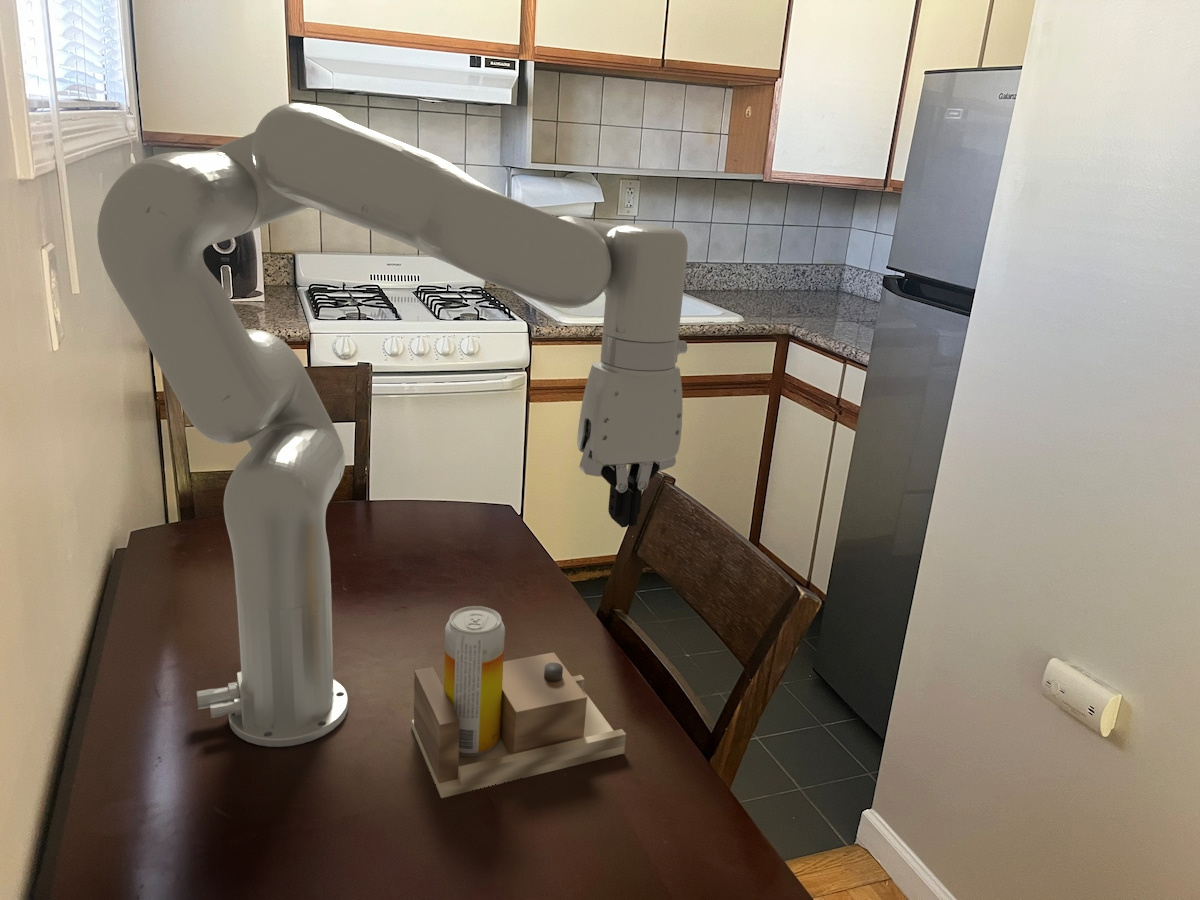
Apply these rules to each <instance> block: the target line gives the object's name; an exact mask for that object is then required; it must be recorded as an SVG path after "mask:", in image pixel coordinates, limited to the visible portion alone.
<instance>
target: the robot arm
mask: <svg viewBox="0 0 1200 900" xmlns="http://www.w3.org/2000/svg"><path fill="white" fill-rule="evenodd" d="M308 208H311V209H314V210H317V211H319V212H322V213H325V214H327V215H330V216H332V217H335V218H338V219H340V220H343V221H347V222H349V223H351V224H354V225H357V226H359V227H361V228H365V229H367V230H369V231H373V232H375V233H377V234H380V235H383V236H384V237H388V238H390V239H393V240H396V241H397V242H400V243H403V244H405V245H407V246H410V247H413V248H415V249H416V250H418V251H420V252H422V253H423V254H425V255H427V256H429V257H432V258H434V259H437V260H439V261H442V262H445V263H447V264H448V265H450V266H452V267H455V268H457V269H459V270H462V271H463V272H466V273H467V274H470V275H472V276H474V277H476V278H478V279H480V280H483V281H485V282H487V283H490V284H493V285H495V286H497V287H500V288H501V289H502V288H503V289H505V290H508V291H511V292H513V293H515V294H516V293H517V294H519V295H521V296H524V297H527V298H529V299H532V300H534V301H536V302H537V301H538V302H540V303H542V304H545V305H549V306H552V307H556V308H560V309H561V308H562V309H578V308H581V307H584V306H587V305H589V304H591V303H592V302H594V301H595V300H596V299H598V298H599V297H600V296H601V295H602V294H603V293H604V297H605V302H604V314H603V323H602V324H603V326H602V336H601V337H602V338H601V349H600V361H596V362H595V361H594V362H593V363H591V366H590V370H589V374H588V376H587V381H586V383H585V388H584V392H583V396H582V397H583V398H582V403H581V407H580V408H581V409H580V413H579V420H578V429H577V437H576V439H577V441H576V443H577V449H578V451H580V452H581V453H583V454H582V456H581V459H580V462H579V466H578V468H579V470H580V472H583V474H585V475H587V476H593V477H602V478H603V479H604V480H605V481H606V483H608V484H609V485H610V486H609V487H610V488H609V498H608V511H607V512H608V514H609V516H610V518H611V519H612V520H613V521H614V522H615V523H616V524H618V526H619V527H621V528H628V526H630V527H636V526H637V524H638V515H640V514H641V508H642V507H641V506H642V496H643V491H645V490H646V489H647V488H648V486H649V483H650V480H651V479H653V477H654V476H655V475H656V474H657V473H658V472H659V471H664V470H667V469H670V468H673V467H674V466H675V465H676V462H677V460H676V456H677V454H678V453H679V450H680V445H681V440H682V427H683V386H682V384H683V383H682V375H681V370H680V367H679V366H677V365H676V363H677V362H678V356H679V355H680V354H686V353H687V351H688V343H687V341H686V340H680V337H679V334H680V325H681V318H682V317H681V316H682V307H683V306H682V305H683V298H684V297H683V296H684V287H685V279H686V271H687V270H686V269H687V261H688V248H689V246H688V239H687V237H686V235H685V234H684V233H683V232H682V231H681V230H678V229H676V228H672V227H668V226H663V225H662V226H661V225H654V224H638V223H636V224H632V223H631V224H624V225H617V224H613V223H606V222H601V221H597V220H592V219H587V218H583V217H578V216H574V215H571V216H570V215H565V216H563V215H562V216H558V217H557V216H555V215H553V214H550V213H547V212H546V211H543V210H540V209H538V208H535V207H532V206H530V205H527V204H525V203H523V202H521V201H518V200H517V199H514V198H511V197H509V196H506V195H504V194H502V193H500V192H498V191H496V190H495V189H491V188H490V187H487V186H486V185H484V184H482V183H480V182H478V181H477V180H476V179H474V178H473V177H471V176H470V175H468V174H467V173H465V172H464V171H463V170H462V169H460V168H459V167H458V166H456V165H455V164H453V163H452V162H450V161H448V160H446V159H444V158H442V157H440V156H437V155H436V154H433V153H431V152H427V151H425V150H422V149H420V148H417V147H415V146H412V145H410V144H407V143H404V142H402V141H400V140H397V139H394V138H392V137H390V136H386V135H385V134H382V133H379V132H377V131H374V130H372V129H369V128H367V127H365V126H363V125H360V124H358V123H355V122H353V121H350V120H348V119H347V118H346V117H345V116H344V115H342V114H341V113H340V112H337V111H335V110H334V109H332V108H328V107H326V106H321V105H316V104H315V105H313V104H310V103H309V104H306V103H301V102H295V103H294V102H293V103H287V104H285V103H284V104H282V105H279V106H277V107H275V108H273V109H271V110H270V111H268V112H267V113H266V114H265V115H264V116H263V117H262V119H261V120H260V122H259V123H258V125H257V126H256V128H255V130H254V131H253V132H251V133H249V134H247V135H244V136H242V137H240V138H237V139H234V140H232V141H228V142H226V143H224V144H221V145H219V146H216V147H214V148H210V149H208V150H205V151H174V152H173V151H172V152H166V153H165V152H164V153H160V154H156V155H153V156H149V157H147V158H144V159H142V160H140V161H138V162H137V163H135V164H133V165H132V166H131V167H129V168H128V169H126V170H125V171H124V172H123V173H122V174H121V175H120V176H119V177H118V178H117V180H116V181H115V182H114V183H113V185H112V186H111V187H110V189H109V190H108V192H107V194H106V196H105V198H104V200H103V201H102V205H101V208H100V211H99V215H98V219H97V220H98V222H97V232H96V234H97V245H98V251H99V253H100V258H101V261H102V264H103V267H104V269H105V271H106V274H107V275H108V278H109V280H110V281H111V283H112V285H113V288H115V291H116V292H117V294H118V295H119V297H120V299H121V300H122V302H123V303H124V305H125V307H126V308H127V311H128V312H129V314H130V316H131V317H132V318H133V320H134V322H135V323H136V325H137V327H138V328H139V330H140V333H141V334H142V336H143V339H144V340H145V343H146V344H147V346H148V348H149V350H150V351H151V352H150V353H151V354H152V356H153V357H154V359H155V361H156V362H157V364H158V366H159V368H160V370H161V372H162V374H163V376H164V377H165V379H166V381H167V383H168V385H169V386H170V388H171V389H172V392H173V393H174V395H175V397H176V399H177V401H178V402H179V404H180V406H181V408H182V410H183V412H184V413H185V415H186V417H187V418H188V420H189V422H190V423H191V424H192V426H193V427H194V428H195V429H196V430H197V431H198V432H199V433H200V434H201V435H202V436H203V437H205V438H206V439H209V440H210V441H212V442H215V443H218V444H224V445H230V444H231V445H234V444H239V443H243V442H247V444H248V445H249V448H250V450H249V451H248V452H247V453H246V454H245V456H244V457H243V458H242V459H241V460H240V461H239V463H237V465H236V467H235V468H234V469H233V471H232V473H231V475H230V477H229V479H228V481H227V483H226V487H225V490H224V496H223V513H224V514H223V515H224V521H225V525H226V529H227V534H228V536H229V541H230V546H231V552H232V559H233V569H234V581H235V582H234V583H235V595H236V606H237V624H238V639H239V655H240V656H239V657H240V671H238V672H237V673H236V675H237V681H234V682H229V683H227V686H224V687H218V688H209V689H203V690H196V697H197V698H196V699H197V708H198V709H197V710H202V709H203V710H204V709H207V708H210V718H211V719H215V718H218V717H224V716H225V715H226V716H228V722H229V727H230V729H231V730H232V732H233V733H234V734H235V735H236V736H237V737H238V738H240V739H242V740H244V741H246V742H247V743H251V744H254V745H257V746H263V747H269V748H270V747H271V748H273V747H274V748H275V747H276V748H282V747H293V746H298V745H302V744H306V743H309V742H312V741H314V740H317V739H320V738H321V737H323V736H325V735H327V734H328V733H330V732H331V731H333V730H334V729H335V728H337V726H339V725H340V724H341V723H342V722H343V720H344V719H345V718H346V715H347V713H348V710H349V696H348V693H347V690H346V688H345V687H344V686H343V685H342V684H341V683H340V682H338V681H337V680H336V679H334V656H333V655H334V654H333V651H334V648H333V612H332V611H333V610H332V609H333V608H332V605H333V604H332V603H333V602H332V583H331V582H332V581H331V578H332V575H331V574H332V573H331V572H332V571H331V557H330V549H329V541H328V536H327V530H326V528H327V527H326V514H327V509H328V505H329V503H330V502H331V500H332V498H333V496H334V493H335V491H336V489H337V488H338V486H339V484H340V483H341V481H342V478H343V475H344V472H345V468H346V455H345V450H344V447H343V443H342V440H341V438H340V436H339V433H338V432H337V429H336V427H335V425H334V423H333V421H332V419H331V417H330V415H329V413H328V412H327V409H326V408H325V405H324V404H323V402H322V399H321V397H320V395H319V393H318V392H317V390H316V387H315V385H314V384H313V381H312V379H311V378H310V376H309V374H308V372H307V370H306V368H305V366H304V364H303V363H302V361H301V360H300V358H299V356H298V355H297V353H296V351H294V350H293V349H292V348H291V347H290V346H289V345H288V343H287V342H285V341H284V340H282V339H281V338H279V337H278V336H276V335H274V334H272V333H271V332H268V331H264V330H259V329H253V328H252V329H251V328H250V329H246V328H245V325H244V324H243V323H242V320H241V319H240V317H239V315H238V313H237V311H236V310H235V306H234V305H233V302H232V300H231V299H230V296H229V295H228V293H227V291H226V290H225V288H224V287H223V286H222V284H221V282H220V281H219V280H218V279H217V278H216V277H215V275H214V274H213V273H212V272H211V271H210V269H209V268H208V266H207V265H206V263H205V260H204V255H203V254H204V251H205V249H206V248H207V247H209V246H211V245H215V244H218V243H221V242H225V241H227V240H231V239H235V238H237V237H240V236H242V235H244V234H248V233H250V232H251V231H254V230H256V229H259V228H261V227H263V226H266V225H269V224H270V223H272V222H276V221H279V220H281V219H283V218H285V217H288V216H291V215H293V214H295V213H298V212H300V211H303V210H305V209H308Z"/></svg>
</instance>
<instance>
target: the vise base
mask: <svg viewBox="0 0 1200 900" xmlns="http://www.w3.org/2000/svg"><path fill="white" fill-rule="evenodd" d="M413 672H414V675H413V676H414V682H413V683H414V684H413V686H414V687H413V690H414V691H413V693H414V695H413V719H411V729H412V731H413V734H414V736H415V739H416V742H417V744H418V746H419V749H420V751H421V753H422V756H423V758H424V760H425V763H426V766H427V768H428V769H429V770H428V771H429V773H430V772H431V773H430V775H431V777H432V779H433V782H434V784H436V785H435V787H436V789H437V791H438V794H439V796H440V798H441V799H444V798H448V797H451V796H452V797H453V796H456V795H461V794H464V793H467V792H468V793H469V792H472V790H473V791H476V789H477V790H480V788H481V789H485V788H487V787H488V786H489V787H493V786H497V785H501V784H504V782H505V783H508V781H509V782H514V781H517V779H518V780H521V779H520V778H522V779H525V778H530V777H534V776H537V775H541V774H545V773H550V772H553V771H554V772H555V771H558V770H562V769H566V768H571V767H573V766H578V765H582V764H587V763H590V762H594V761H595V762H596V761H599V760H604V759H607V758H610V757H611V758H612V757H615V756H618V755H619V756H620V755H624V754H625V749H626V739H627V733H626V732H625V731H624V730H623V728H620V729H616V730H614V729H613V728H612V726H611V725H610V724H609V722H608V721H607V720H606V718H605V717H604V715H603V714H602V713H601V711H600V710H599V709H598V707H597V706H596V704H594V702H593V700H592V699H591V698H590V696H589V695H588V694H587V693H586V691H585V690H584V688H585V678H584V677H583V675H582V674H578V675H574V676H573V675H571V676H572V677H573V679H574V680H575V681H576V683H577V684H578V686H579V687H580V688H581V690H582V691H583V692H584V694H585V695H586V696H587V704H586V716H585V728H584V738H580V739H576V740H572V741H567V742H563V743H559V744H554V745H550V746H546V747H541V748H537V749H533V750H528V751H524V752H520V753H515V754H511V755H510V754H509V752H508V750H507V748H506V746H505V745H504V743H503V741H502V739H501V737H500V738H499V740H498V742H497V743H496V744H495V745H494V746H493V747H492V749H491V750H490V751H488V752H487V753H485V754H482V755H479V756H472V757H468V756H462V755H459V729H460V720H459V718H458V716H457V714H456V712H455V710H454V708H453V706H452V704H451V702H450V700H449V698H448V696H447V694H446V692H445V690H444V685H443V684H442V682H441V681H440V678H439V677H438V674H437V672H436V670H435V669H434V667H433V666H430V667H424V668H419V669H414V670H413ZM513 780H514V781H513ZM495 784H496V785H495ZM492 785H493V786H492ZM484 787H485V788H484ZM489 787H488V788H489Z"/></svg>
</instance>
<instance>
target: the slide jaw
mask: <svg viewBox="0 0 1200 900" xmlns="http://www.w3.org/2000/svg"><path fill="white" fill-rule="evenodd" d="M572 676H573V675H572V674H571V673H570V672H569V671H568V669H567V668H566V666H565V665H564V664H563V662H562V661H561V660H560V659H559V657H558V656H557V655H556V653H555V652H548V653H544V654H543V653H542V654H538V655H531V656H527V657H521V658H514V659H510V660H506V661H505V660H503V681H502V702H501V723H500V737H501V739H502V741H503V743H504V745H505V746H506V748H507V750H508V752H509V754H510V755H511V754H515V753H520V752H524V751H528V750H533V749H537V748H541V747H546V746H550V745H554V744H559V743H563V742H567V741H572V740H576V739H580V738H584V728H585V716H586V704H587V696H586V695H585V694H584V692H583V691H582V690H581V688H580V687H579V686H578V684H577V683H576V681H575V680H574V679H573V677H572Z"/></svg>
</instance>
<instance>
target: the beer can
mask: <svg viewBox="0 0 1200 900" xmlns="http://www.w3.org/2000/svg"><path fill="white" fill-rule="evenodd" d="M505 635H506V627H505V625H504V622H503V621H502V616H501V614H500V613H499V612H498V611H496V610H495V609H493V608H490V607H486V606H482V605H472V606H466V607H465V606H464V607H461V608H459V609H457V610H455V611H453V612H452V613H451V614H450V615H449V619H448V621H447V623H446V625H445V630H444V664H443V666H444V668H443V671H444V672H443V688H444V690H445V692H446V694H447V696H448V698H449V700H450V702H451V704H452V706H453V708H454V710H455V712H456V714H457V716H458V718H459V720H460V729H459V755H462V756H468V757H472V756H479V755H482V754H485V753H487V752H488V751H490V750H491V749H492V747H493V746H494V745H495V744H496V743H497V742H498V740H499V738H500V723H501V702H502V681H503V662H504V661H505V660H504V656H505V655H504V654H505V637H506V636H505Z"/></svg>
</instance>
